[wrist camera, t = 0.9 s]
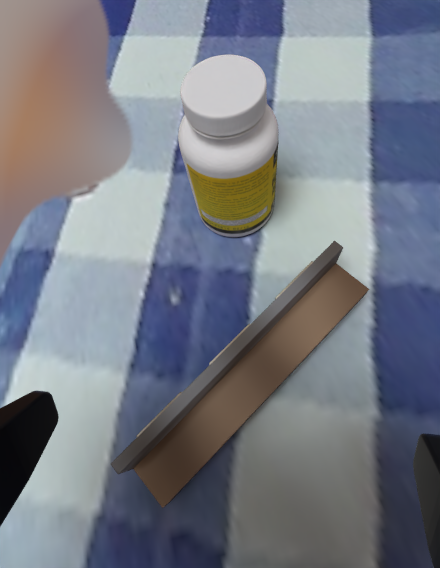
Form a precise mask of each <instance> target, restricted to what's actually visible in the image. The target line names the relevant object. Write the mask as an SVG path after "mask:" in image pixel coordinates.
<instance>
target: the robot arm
mask: <svg viewBox="0 0 440 568" xmlns="http://www.w3.org/2000/svg"><path fill="white" fill-rule="evenodd" d="M57 422H58V412H57V409H56V406H55V403H54V400H53V397H52V395H51V394H50V393H49V392H44V391H33V392H31V393H29V394H27V395H25V396H23V397H21V398H19V399H17V400H16V401H14V402H12V403H10V404H8V405H6V406H4V407H2V408H0V526H1V525H2V523H3V521H4V520H5V518H6V516H7V515H8V513H9V512H10V510H11V508H12V507H13V505H14V503H15V502H16V500H17V499H18V497H19V495H20V494H21V492H22V490H23V489H24V487H25V485H26V484H27V482H28V480H29V478H30V476H31V475H32V473H33V471H34V469H35V467H36V465H37V463H38V461H39V459H40V457H41V455H42V453H43V451H44V449H45V447H46V445H47V443H48V441H49V439H50V437H51V435H52V433H53V431H54V429H55V427H56V425H57ZM413 468H414V475H415V480H416V485H417V491H418V496H419V501H420V507H421V512H422V517H423V522H424V528H425V533H426V538H427V543H428V548H429V552H430V556H431V559H432V563H433V567H434V568H440V435H433V434H421V435H420V436H419V439H418V443H417V447H416V452H415V456H414V461H413Z"/></svg>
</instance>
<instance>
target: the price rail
mask: <svg viewBox="0 0 440 568" xmlns="http://www.w3.org/2000/svg"><path fill="white" fill-rule="evenodd" d="M342 249H343V247H342V246H341V245H339V244H338V243H337V242H336V241H334V242H333V243H332V244H331V245H330V246H329V247H328V248H327V249H326V250H325V251H324V252H323V253H322V254H321V255H320V256H319V257H318V258H317V259H316V260H315V261H314V262H311V263H310V264H309V265H308V266H307V267H306V268H305V269H304V270H303V271H302V272H301V273H300V274H299V275H298V276H297V277H296V278H295V279H294V280H293V281H292V282H291V283H290V284H289V285H288V286H287V287H286V288H285V289H284V290H283V291H282V292H281V293H280V294H279V295H278V296H277V297H276V298H275V301H274V302H273V303H272V304H271V305H270V306H269V307H268V308H267V309H266V310H265V311H264V312H263V313H262V314H261V315H260V316H259V317H258V318H257V319H256V320H255V321H253V322H252V323H251V324H248V325H247V326H246V327H245V328H244V329H243V330H242V331H241V332H240V333H239V334H238V335H237V336H236V337H235V338H234V339H233V340H232V341H231V342H230V343H229V344H228V345H227V346H226V347H225V348H224V349H223V350H222V351H221V352H220V353H219V354H218V355H217V356H216V357H215V358H214V359H213V360H212V361H211V362H210V363H209V364H210V365H209V366H208V367H207V368H206V369H205V370H204V371H203V372H202V373H201V374H200V375H199V376H198V377H197V378H196V379H195V380H194V381H193V382H192V383H191V384H190V385H189V386H188V387H187V388H186V389H185V390H184V391H183V392H180V393H179V394H178V395H177V396H176V397H175V398H174V399H173V400H172V401H171V402H170V403H169V404H168V405H167V406H166V407H165V408H164V409H163V410H162V411H161V412H160V413H159V414H158V415H157V416H156V417H155V418H154V419H153V420H152V421H151V422H150V423H149V424H148V425H147V426H146V427H145V428H144V429H143V430H142V431H141V432H140V433H139V434H138V435H137V436H136V437H137V438H136V439H135V440H134V441H133V442H132V443H131V444H130V445H129V446H128V447H127V448H126V449H125V450H124V451H123V452H122V453H121V454H120V455H119V456H118V457H117V458H116V459H115V460H114V461H113V462H112V463H111V466H112V467H113V468H114V470H115V471H116V472H117V474H121V473H123V472H126V471H129V470H131V469H134V470H135V472H136V473H137V474H138V476H139V477H140V478H141V480H142V481H143V482H144V484H145V485H146V486H147V488H148V489H149V490H150V492H151V493H152V494H153V496H154V497H155V498H156V500H157V501H158V502H159V504H160V505H161V506H162V508H163V507H165V506H166V505H167V504H168V503H169V502H170V501H171V500H172V499H173V498H174V497H175V496H176V495H177V494H178V493H179V492H180V491H181V489H182V488H183V487H184V486H185V485H186V484H187V483H188V482H189V481H190V480H191V479H192V478H193V477H194V476H195V475H196V474H197V473H198V471H199V470H200V469H201V468H202V467H203V466H204V465H205V464H206V463H207V462H208V461H209V460H210V459H211V458H212V457H213V456H214V454H215V453H216V452H217V451H218V450H219V449H220V448H221V447H222V446H223V445H224V444H225V443H226V442H227V441H228V440H229V439H230V437H231V436H232V435H233V434H234V433H235V432H236V431H237V430H238V429H239V428H240V427H241V426H242V425H243V424H244V423H245V422H246V421H247V419H248V418H249V417H250V416H251V415H252V414H253V413H254V412H255V411H256V410H257V409H258V408H259V407H260V406H261V405H262V404H263V402H264V401H265V400H266V399H267V398H268V397H269V396H270V395H271V394H272V393H273V392H274V391H275V390H276V389H277V388H278V387H279V386H280V384H281V383H282V382H283V381H284V380H285V379H286V378H287V377H288V376H289V375H290V374H291V373H292V372H293V371H294V370H295V369H296V367H297V366H298V365H299V364H300V363H301V362H302V361H303V360H304V359H305V358H306V357H307V356H308V355H309V354H310V353H311V352H312V351H313V349H314V348H315V347H316V346H317V345H318V344H319V343H320V342H321V341H322V340H323V339H324V338H325V337H326V336H327V335H328V334H329V332H330V331H331V330H332V329H333V328H334V327H335V326H336V325H337V324H338V323H339V322H340V321H341V320H342V319H343V318H344V317H345V316H346V314H347V313H348V312H349V311H350V310H351V309H352V308H353V307H354V306H355V305H356V304H357V303H358V302H359V301H360V300H361V299H362V297H363V296H364V295H365V294H366V293H367V291H368V290H369V289H368V288H367V287H366V286H364V285H363V284H362V283H360V282H359V281H358V280H357V279H355V278H354V277H353V276H351V275H350V274H349V273H348V272H346V271H345V270H344V269H343V268H341V267H340V266H339V265H337V264H336V262H337V260H338V258H339V256H340V253H341V251H342Z"/></svg>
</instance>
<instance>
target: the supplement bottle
mask: <svg viewBox="0 0 440 568" xmlns="http://www.w3.org/2000/svg"><path fill="white" fill-rule="evenodd" d="M266 85H267V84H266V77H265V75H264V72H263V71H262V69H261V68H260V67H259V66H258V65H257V64H256V63H255V62H253V61H252V60H250V59H248V58H245V57H242V56H237V55H219V56H215V57H211V58H208V59H206V60H203V61H201V62H200V63H198V64H197V65H195V66H194V67H193V68H191V69H190V70H189V72H188V73H187V74H186V75H185V77H184V79H183V81H182V84H181V99H182V103H183V108H184V112H185V115H184V117H183V119H182V121H181V124H180V127H179V134H178V139H179V146H180V150H181V154H182V157H183V161H184V164H185V167H186V170H187V174H188V178H189V181H190V185H191V188H192V192H193V195H194V198H195V202H196V206H197V209H198V212H199V215H200V218H201V220H202V221H203V223H204V224H205V225H206V226H207V227H208V228H209V229H210V230H212V231H213V232H215V233H217V234H219V235H223V236H227V237H240V236H245V235H248V234H251V233H253V232H255V231H257V230H258V229H260V228H261V227H262V226H263V225H264V224H265V223H266V222H267V221H268V219H269V218H270V216H271V214H272V211H273V207H274V200H275V184H276V168H277V153H278V123H277V120H276V117H275V115H274V113H273V111H272V109H271V108H270V107H269V106H268V105H267V98H266Z"/></svg>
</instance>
